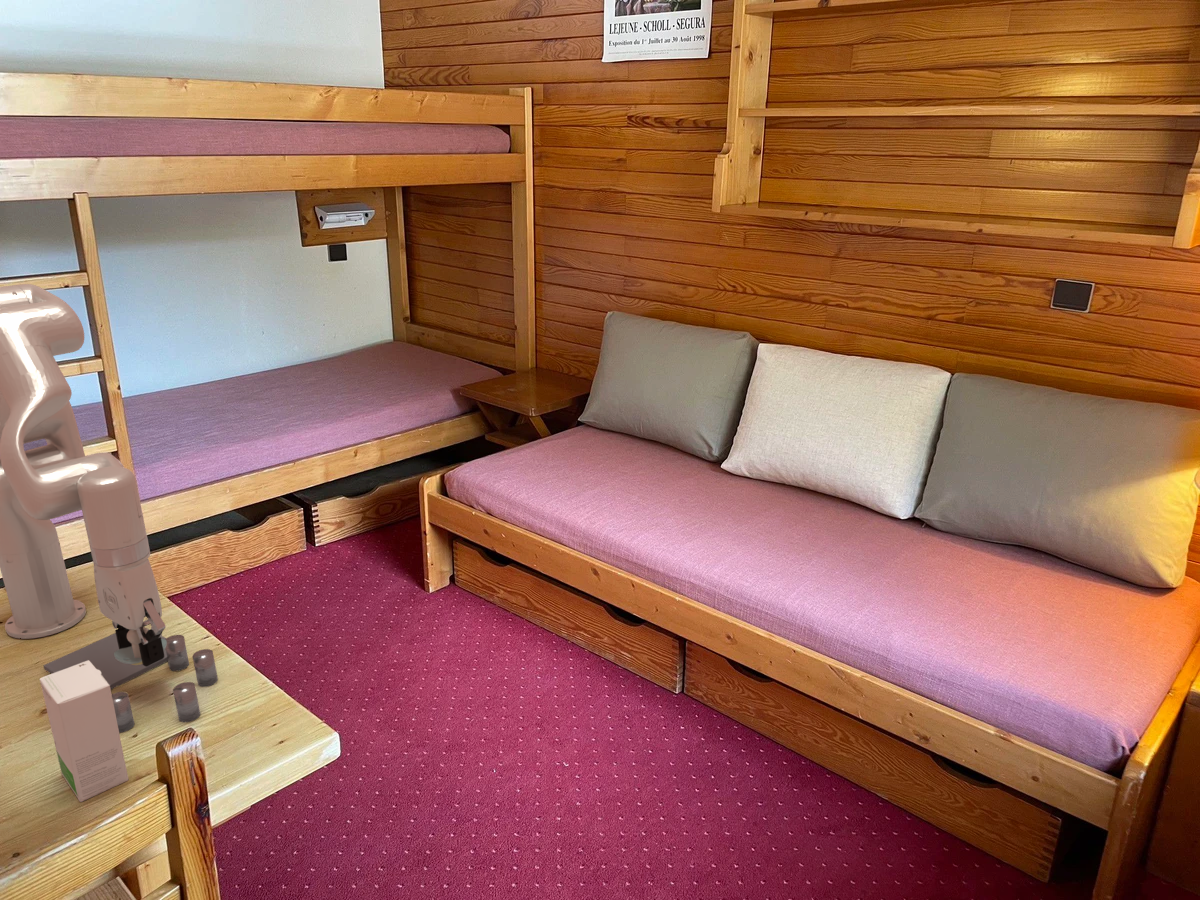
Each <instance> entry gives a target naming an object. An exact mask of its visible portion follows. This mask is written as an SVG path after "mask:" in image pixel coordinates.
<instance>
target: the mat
mask: <svg viewBox="0 0 1200 900" xmlns="http://www.w3.org/2000/svg"><path fill="white" fill-rule="evenodd" d="M147 629H148V630H150V629H149V628H147ZM166 638H167V637H164V636H163V635H162V637H161V639H166ZM117 650H119V647H118V642H117V637H116V633H115V632H114V633H113V634H110V635H107V636H106V637H105V636H104V637H103V638H101V639H99V640H97V641H95V642H92V643H90V644H87V645H86V646H83V647H81V648H79V649H77V650H75V651H72V652H70V653H68V654H66V655H63V656H60V657H59V658H57V659H54V660H52V661H50V662H48V663H45V664H42V665H43V670H44V671H46V672H47V671H48V672H47V673H49V674H50V673H51V674H53V673H55V672H58V671H61V670H64V669H66V668H69V667H72V666H74V665H77V664H80V663H82V662H85V661H88V660H89V661H90V662H91V663H92V664H93V665H94V667H95V668H96V669H97V670H100V671H101V675H102V676H103V677H104V679H105V680H106V681H107V683H108V684H109V685H110V689H111V690H113V689H114V688H117V687H119V686H121V685H122V684H125V683H127V682H129V681H131V680H133V679H136V678H137V677H139V676H141V675H144V674H145V673H147V672H149V671H151V670H153V669H155V668H158V667H159V666H162V665H163V664H166V663H168V659H167V654H166V649H165V650H164V658H163V659H161V660H159V661H157V662H155V663H153V664H151V665H149V666H147V667H146V666H144V665H143V664H140V665H132V664H126V663H122V662H120V661H118V660H117V659H116V658H115V656H114V653H115V652H116V651H117Z"/></svg>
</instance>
